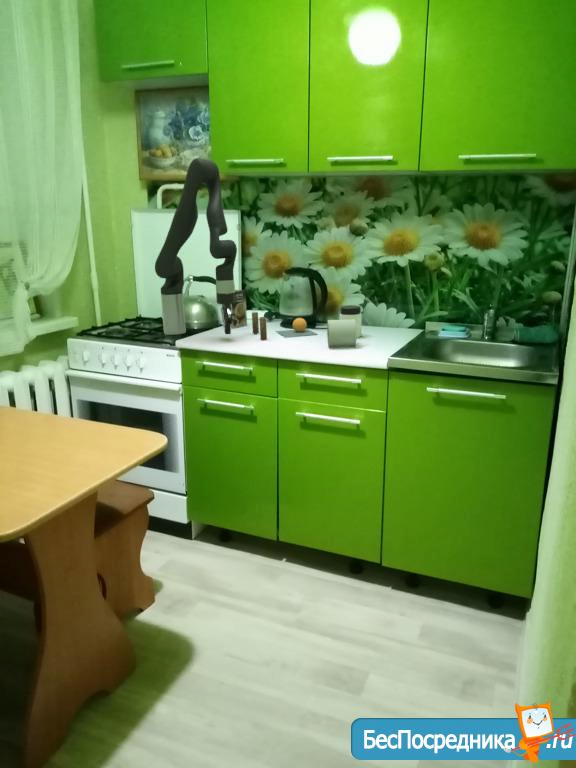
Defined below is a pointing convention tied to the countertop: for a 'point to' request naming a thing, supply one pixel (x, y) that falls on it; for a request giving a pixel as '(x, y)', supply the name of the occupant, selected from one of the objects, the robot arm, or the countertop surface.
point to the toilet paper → (341, 333)
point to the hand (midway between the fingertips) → (227, 333)
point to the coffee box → (239, 309)
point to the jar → (352, 316)
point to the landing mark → (296, 333)
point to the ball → (299, 325)
